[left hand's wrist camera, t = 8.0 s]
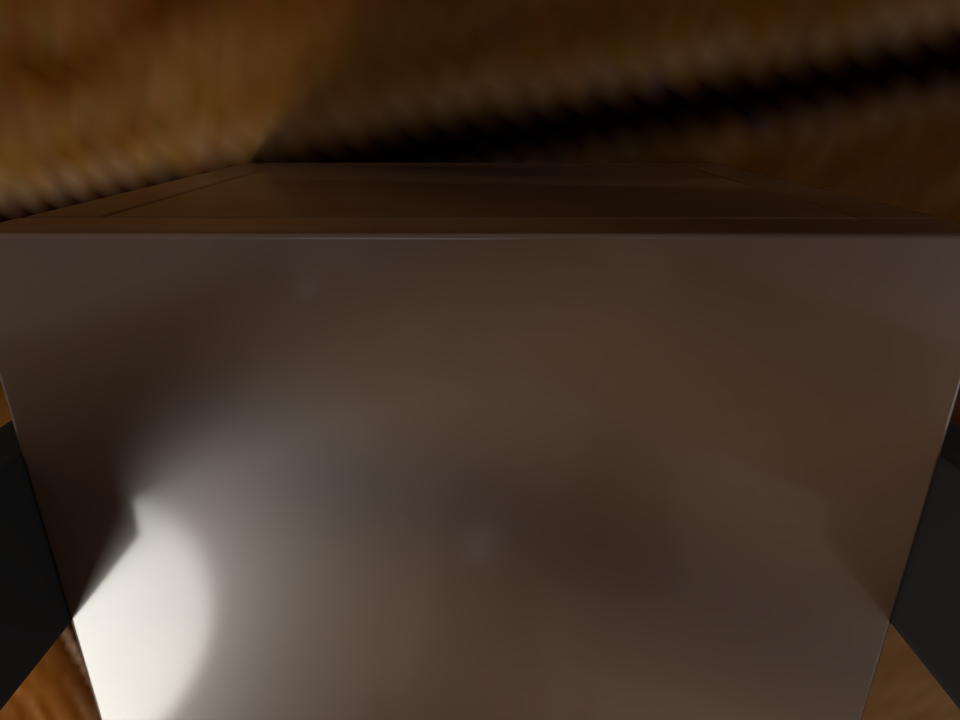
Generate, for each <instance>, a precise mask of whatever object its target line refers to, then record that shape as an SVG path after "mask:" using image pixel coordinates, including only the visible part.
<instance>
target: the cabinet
mask: <svg viewBox="0 0 960 720" xmlns="http://www.w3.org/2000/svg"><path fill="white" fill-rule="evenodd" d="M0 381H1V385H2V388H3V391H4V395H5V398H6V402H7V405H8V408H9V412H10V415H11V418H12V422H13V425H14V429H15V432H16V435H17V439H18V442H19V446H20V449H21V452H22V456H23V459H24V463H25V466H26V469H27V473H28V476H29V480H30V483H31V486H32V490H33V493H34V496H35V500H36V503H37V507H38V510H39V513H40V517H41V520H42V524H43V527H44V530H45V534H46V537H47V541H48V544H49V547H50V551H51V554H52V557H53V561H54V564H55V568H56V571H57V574H58V578H59V581H60V585H61V588H62V591H63V595H64V598H65V602H66V605H67V608H68V612H69V615H70V619H71V622H72V625H73V629H74V632H75V635H76V639H77V642H78V646H79V649H80V652H81V656H82V659H83V663H84V666H85V669H86V673H87V676H88V680H89V683H90V686H91V690H92V693H93V697H94V700H95V703H96V707H97V710H98V713H99V717H100V720H861V719H862V715H863V712H864V708H865V705H866V702H867V698H868V695H869V692H870V688H871V685H872V682H873V678H874V675H875V671H876V668H877V665H878V661H879V658H880V655H881V651H882V648H883V644H884V641H885V638H886V634H887V631H888V628H889V624H890V621H891V617H892V614H893V611H894V607H895V604H896V601H897V597H898V594H899V591H900V587H901V584H902V580H903V577H904V574H905V570H906V567H907V564H908V560H909V557H910V553H911V550H912V547H913V543H914V540H915V537H916V533H917V530H918V527H919V523H920V520H921V516H922V513H923V510H924V506H925V503H926V500H927V496H928V493H929V489H930V486H931V483H932V479H933V476H934V473H935V469H936V466H937V463H938V459H939V456H940V452H941V449H942V446H943V442H944V439H945V436H946V432H947V429H948V425H949V422H950V419H951V415H952V412H953V409H954V405H955V402H956V399H957V395H958V392H959V388H960V223H958V222H954V221H950V220H946V219H940V218H938V217H935V216H931V215H927V214H923V213H919V212H914V211H910V210H906V209H902V208H898V207H894V206H890V205H886V204H881V203H877V202H873V201H869V200H865V199H861V198H857V197H853V196H848V195H844V194H840V193H836V192H832V191H828V190H824V189H820V188H815V187H811V186H807V185H803V184H799V183H795V182H791V181H787V180H783V179H778V178H774V177H770V176H766V175H762V174H758V173H754V172H750V171H745V170H741V169H737V168H733V167H729V166H724V165H720V164H715V163H246V164H242V165H237V166H234V167H230V168H226V169H221V170H217V171H213V172H209V173H205V174H201V175H197V176H193V177H188V178H184V179H180V180H176V181H172V182H168V183H164V184H160V185H156V186H151V187H147V188H143V189H139V190H135V191H131V192H127V193H123V194H118V195H114V196H110V197H106V198H102V199H98V200H94V201H90V202H86V203H81V204H77V205H73V206H69V207H65V208H61V209H57V210H53V211H48V212H44V213H40V214H36V215H32V216H29V217H27V218H18V219H14V220H10V221H6V222H1V223H0Z"/></svg>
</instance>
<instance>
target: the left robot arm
mask: <svg viewBox="0 0 960 720" xmlns="http://www.w3.org/2000/svg"><path fill="white" fill-rule="evenodd" d="M70 622H71V619H70V615H69V612H68V608H67V605H66V602H65V598H64V595H63V591H62V588H61V585H60V581H59V578H58V574H57V571H56V568H55V564H54V561H53V557H52V554H51V551H50V547H49V544H48V541H47V537H46V534H45V530H44V527H43V524H42V520H41V517H40V513H39V510H38V507H37V503H36V500H35V496H34V493H33V490H32V486H31V483H30V480H29V476H28V473H27V469H26V466H25V463H24V459H23V456H22V452H21V449H20V446H19V442H18V439H17V435H16V432H15V429H14V425H13V422H12V421H10V422H9V423H7V424H6V425H4V426H3V427H1V428H0V710H1V709H2V708H3V706H4V705H5V704H6V703H7V701H8V700H9V699H10V697H11V696H12V695H13V694H14V692H15V691H16V690H17V689H18V687H19V686H20V685H21V684H22V682H23V681H24V680H25V679H26V677H27V676H28V675H29V674H30V672H31V671H32V670H33V669H34V667H35V666H36V665H37V663H38V662H39V661H40V660H41V658H42V657H43V656H44V655H45V653H46V652H47V651H48V650H49V648H50V647H51V646H52V645H53V643H54V642H55V641H56V640H57V638H58V637H59V636H60V635H61V633H62V632H63V631H64V630H65V628H66V627H67V626H68V624H69V623H70ZM890 622H891V623H892V625H893V626H894V627H895V628H896V630H897V631H898V632H899V634H900V635H901V636H902V637H903V639H904V640H905V641H906V642H907V644H908V645H909V646H910V647H911V649H912V650H913V651H914V652H915V654H916V655H917V656H918V657H919V659H920V660H921V661H922V662H923V664H924V665H925V666H926V668H927V669H928V670H929V671H930V673H931V674H932V675H933V676H934V678H935V679H936V680H937V681H938V683H939V684H940V685H941V686H942V688H943V689H944V690H945V691H946V693H947V694H948V695H949V696H950V698H951V699H952V700H953V701H954V703H955V704H956V705H957V707H958V708H959V709H960V427H958V426H957V425H955V424H954V423H952V422H951V421H950V422H949V425H948V429H947V432H946V436H945V439H944V442H943V446H942V449H941V452H940V456H939V459H938V463H937V466H936V469H935V473H934V476H933V479H932V483H931V486H930V489H929V493H928V496H927V500H926V503H925V506H924V510H923V513H922V516H921V520H920V523H919V527H918V530H917V533H916V537H915V540H914V543H913V547H912V550H911V553H910V557H909V560H908V564H907V567H906V570H905V574H904V577H903V580H902V584H901V587H900V591H899V594H898V597H897V601H896V604H895V607H894V611H893V614H892V617H891V621H890Z"/></svg>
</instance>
